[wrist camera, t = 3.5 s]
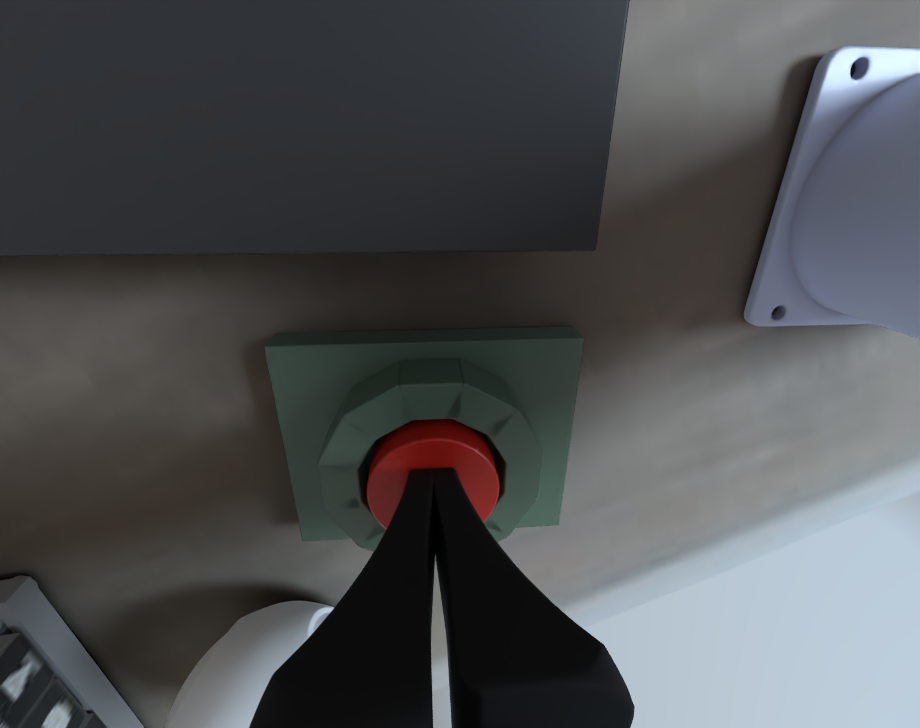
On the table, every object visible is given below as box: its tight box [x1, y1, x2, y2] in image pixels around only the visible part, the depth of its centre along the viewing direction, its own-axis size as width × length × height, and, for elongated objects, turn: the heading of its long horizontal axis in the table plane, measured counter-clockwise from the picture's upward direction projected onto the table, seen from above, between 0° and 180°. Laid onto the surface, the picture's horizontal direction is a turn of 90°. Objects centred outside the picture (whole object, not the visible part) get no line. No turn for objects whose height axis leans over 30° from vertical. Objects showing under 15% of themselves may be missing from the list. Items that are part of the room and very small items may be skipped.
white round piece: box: [164, 601, 334, 728], centre depth 16 cm, size 8×8×8 cm
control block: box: [264, 326, 584, 561], centre depth 15 cm, size 10×8×3 cm
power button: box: [367, 419, 499, 529], centre depth 14 cm, size 4×4×2 cm
